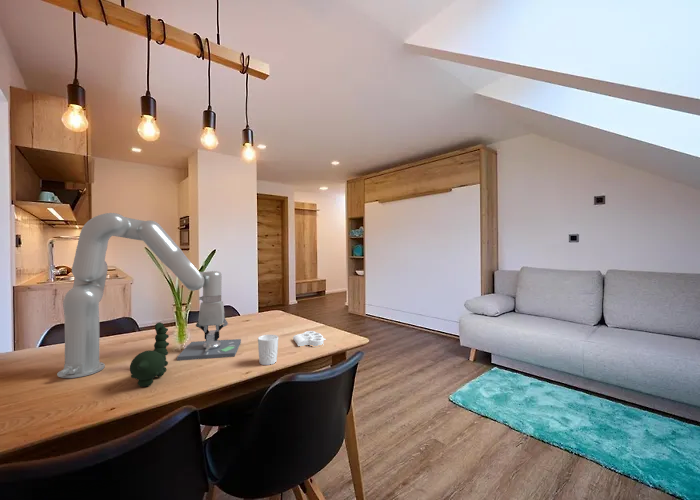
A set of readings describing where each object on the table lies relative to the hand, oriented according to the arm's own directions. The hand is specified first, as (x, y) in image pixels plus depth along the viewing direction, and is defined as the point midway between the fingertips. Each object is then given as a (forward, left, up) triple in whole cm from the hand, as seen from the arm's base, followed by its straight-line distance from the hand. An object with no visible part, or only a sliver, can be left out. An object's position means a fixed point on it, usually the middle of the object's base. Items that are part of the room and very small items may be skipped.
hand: (211, 339), depth 134 cm
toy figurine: (-26, +14, -5) cm, 30 cm away
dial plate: (0, 0, -5) cm, 5 cm away
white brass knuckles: (+4, -44, -5) cm, 45 cm away
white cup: (-19, -25, -5) cm, 32 cm away
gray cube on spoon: (-3, 0, -3) cm, 4 cm away
